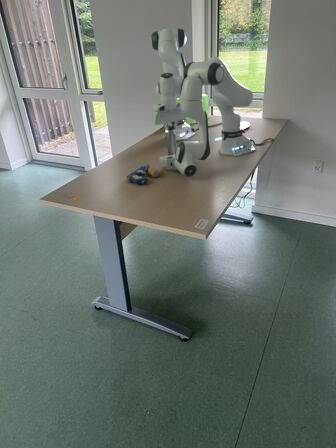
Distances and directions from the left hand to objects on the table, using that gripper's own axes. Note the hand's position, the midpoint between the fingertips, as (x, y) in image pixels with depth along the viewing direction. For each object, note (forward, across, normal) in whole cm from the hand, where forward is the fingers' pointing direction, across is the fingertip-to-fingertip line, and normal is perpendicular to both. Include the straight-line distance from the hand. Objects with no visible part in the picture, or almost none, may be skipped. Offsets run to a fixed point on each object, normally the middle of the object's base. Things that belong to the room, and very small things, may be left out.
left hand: (170, 129), depth 194 cm
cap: (-2, 0, 0) cm, 2 cm away
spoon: (+20, -70, -28) cm, 78 cm away
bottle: (+21, 0, 0) cm, 21 cm away
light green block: (+20, -57, -83) cm, 102 cm away
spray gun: (+21, +23, +10) cm, 33 cm away
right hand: (+15, 0, -1) cm, 15 cm away
